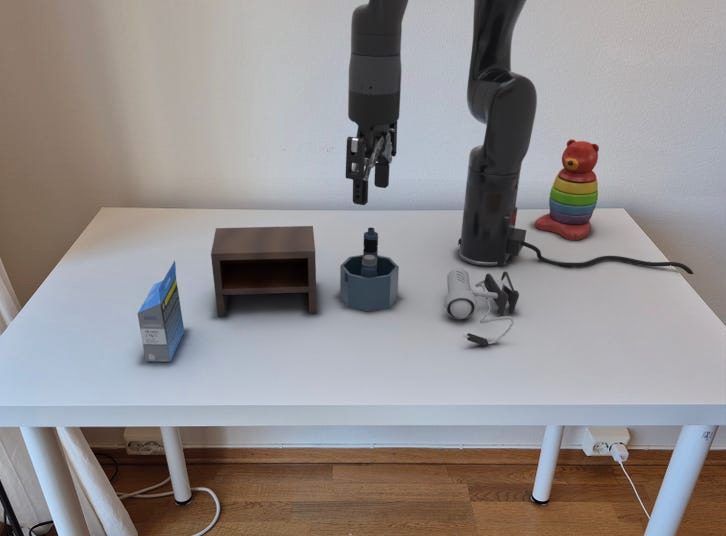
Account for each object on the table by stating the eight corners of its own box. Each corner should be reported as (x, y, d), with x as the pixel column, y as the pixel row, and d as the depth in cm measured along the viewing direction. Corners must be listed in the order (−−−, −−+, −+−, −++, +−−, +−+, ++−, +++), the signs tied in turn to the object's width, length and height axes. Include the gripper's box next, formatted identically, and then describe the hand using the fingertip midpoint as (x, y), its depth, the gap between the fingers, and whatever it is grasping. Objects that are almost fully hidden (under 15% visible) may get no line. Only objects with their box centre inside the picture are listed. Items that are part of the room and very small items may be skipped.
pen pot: (402, 292, 122) (404, 260, 118) (383, 315, 115) (384, 282, 111) (355, 281, 125) (355, 250, 121) (333, 304, 118) (333, 271, 114)
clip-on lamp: (519, 363, 108) (507, 288, 121) (530, 334, 104) (517, 259, 116) (444, 355, 108) (439, 280, 120) (452, 326, 103) (446, 251, 116)
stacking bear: (530, 226, 146) (544, 140, 137) (557, 214, 152) (573, 131, 142) (575, 242, 140) (593, 153, 130) (602, 229, 146) (621, 143, 136)
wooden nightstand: (314, 285, 123) (312, 225, 117) (316, 313, 115) (315, 250, 109) (222, 288, 122) (215, 228, 116) (217, 317, 114) (210, 253, 107)
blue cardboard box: (160, 331, 110) (149, 258, 103) (185, 331, 110) (175, 259, 103) (144, 362, 102) (131, 287, 96) (171, 363, 102) (159, 287, 96)
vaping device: (377, 291, 122) (379, 226, 115) (375, 305, 117) (377, 238, 111) (362, 290, 122) (363, 225, 115) (359, 304, 118) (361, 238, 111)
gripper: (380, 99, 94) (375, 214, 103) (416, 79, 105) (409, 185, 114) (329, 93, 97) (329, 206, 105) (369, 74, 108) (367, 178, 116)
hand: (371, 195), depth 110 cm, fingers open, 8 cm apart
